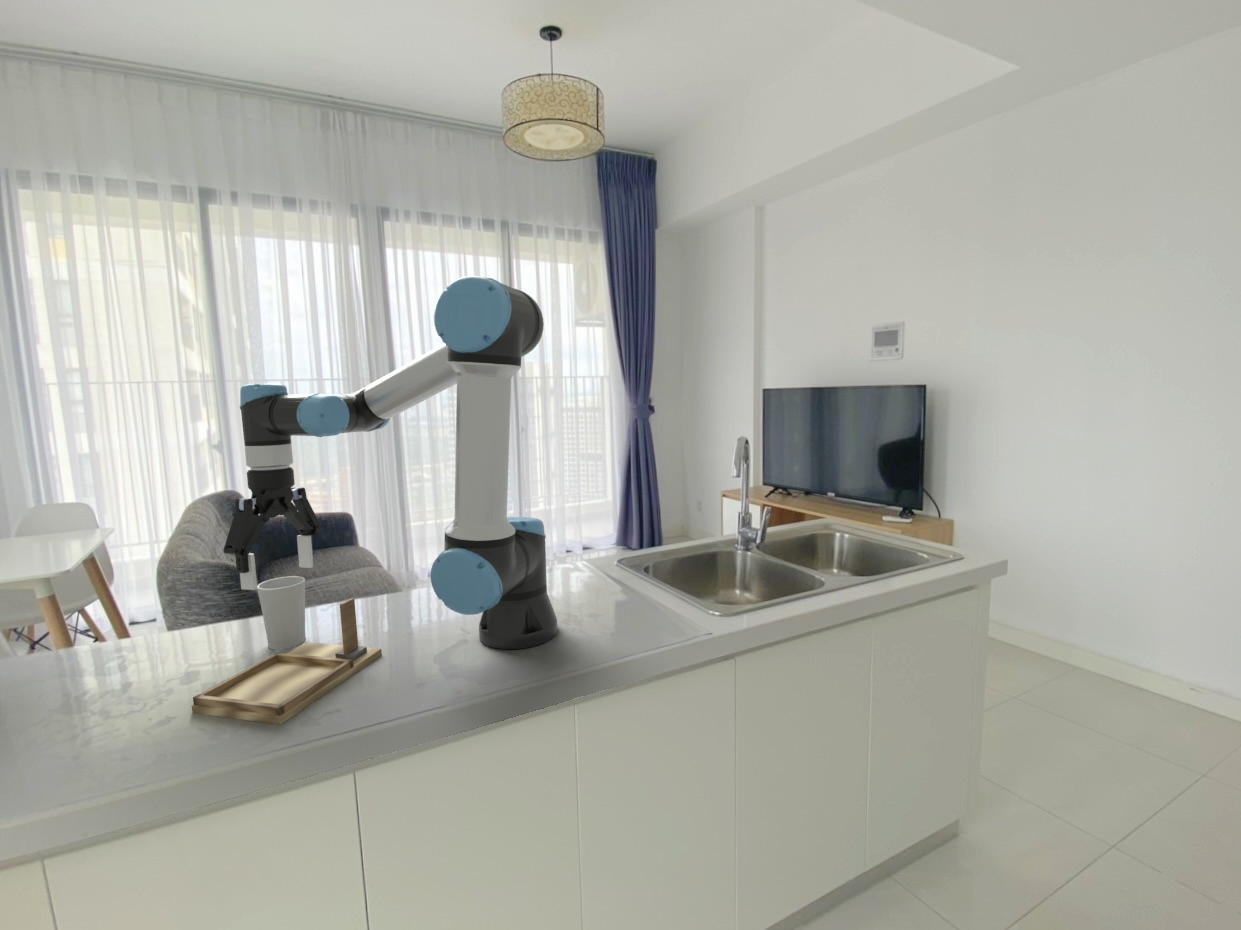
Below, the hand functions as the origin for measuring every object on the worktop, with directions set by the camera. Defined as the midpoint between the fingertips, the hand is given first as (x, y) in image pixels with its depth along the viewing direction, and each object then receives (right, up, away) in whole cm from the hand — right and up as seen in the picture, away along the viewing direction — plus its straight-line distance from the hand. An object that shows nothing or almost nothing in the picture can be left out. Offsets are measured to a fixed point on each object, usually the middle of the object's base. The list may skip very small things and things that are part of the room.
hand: (279, 577), depth 111 cm
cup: (+1, -13, +2) cm, 13 cm away
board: (+11, -14, -14) cm, 23 cm away
